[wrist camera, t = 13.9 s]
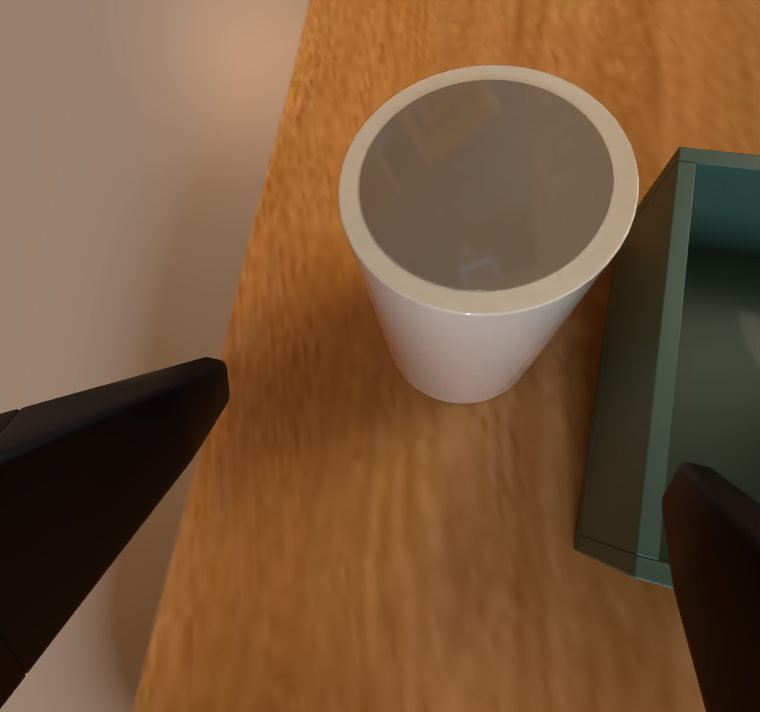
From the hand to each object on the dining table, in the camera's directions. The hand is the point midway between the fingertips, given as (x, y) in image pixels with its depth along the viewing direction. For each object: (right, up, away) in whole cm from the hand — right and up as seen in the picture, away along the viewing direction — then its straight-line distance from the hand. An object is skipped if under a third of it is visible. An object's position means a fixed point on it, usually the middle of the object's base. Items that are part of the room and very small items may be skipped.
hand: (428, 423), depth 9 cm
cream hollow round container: (+3, +4, +12) cm, 13 cm away
